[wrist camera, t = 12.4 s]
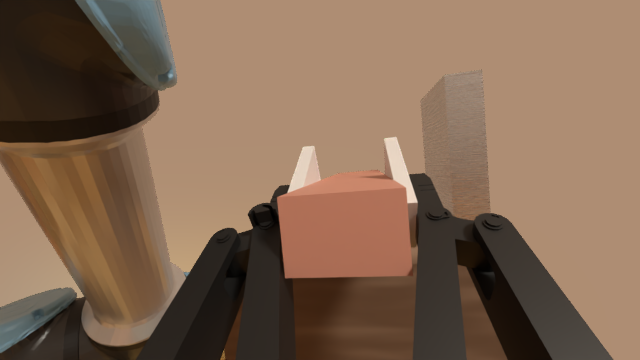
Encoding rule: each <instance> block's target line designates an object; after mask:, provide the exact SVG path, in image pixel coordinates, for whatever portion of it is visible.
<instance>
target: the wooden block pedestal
mask: <svg viewBox="0 0 640 360" xmlns="http://www.w3.org/2000/svg"><path fill="white" fill-rule="evenodd" d="M417 255H418V246H417V242H416V247H415V248H411V257H412V270H413V276H381V277H325V278H293V296H294V319H295V343H296V360H413V340H414V319H415V297H416V276H417ZM458 275H459V285H460V295H461V305H462V316H463V326H464V336H465V346H466V356H467V360H508V359H507V357H506V355H505V353H504V350H503V348H502V346H501V344H500V341H499V339H498V337H497V335H496V333H495V330H494V328H493V326H492V324H491V321H490V319H489V317H488V315H487V312H486V310H485V308H484V306H483V303H482V301H481V299H480V297H479V295H478V292H477V290H476V288H475V286H474V283H473V281H472V279H471V277H470V274H469V272H468V270H467V268H466V267H465V266H461V265H458ZM243 299H244V298H243ZM242 306H243V300H242V303H241V306H240V308H239V311H238V314H237V316H236V319H235V321H234V324H233V327H232V329H231V332H230V335H229V337H228V340H227V342H226V345H225V348H224V349H225V358H226V360H235V358H236V350H237V343H238V336H239V328H240V321H241V313H242Z"/></svg>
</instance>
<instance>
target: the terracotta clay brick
mask: <svg viewBox="0 0 640 360" xmlns="http://www.w3.org/2000/svg"><path fill="white" fill-rule="evenodd" d="M277 203H278V212H279V222H280V232H281V242H282V252H283V262H284V272H285V278H325V277H381V276H413V270H412V257H411V244H410V231H409V217H408V204H407V191H406V187H404V186H403V185H401V184H400V183H398V182H396V181H395V180H393V179H391V178H390V177H388V176H386V175H385V174H383V173H382V172H380V171H378V170H370V171H358V172H347V173H338V174H336V175H333V176H330V177H328V178H325V179H323V180H320V181H318V182H315V183H313V184H310V185H308V186H305V187H302V188H299V189H297V190H294V191H292V192H289V193H286V194H284V195H281V196H279V197H277Z"/></svg>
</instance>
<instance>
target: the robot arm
mask: <svg viewBox="0 0 640 360" xmlns="http://www.w3.org/2000/svg"><path fill="white" fill-rule="evenodd" d="M176 83H177V74H176V69H175V63H174V58H173V54H172V50H171V46H170V41H169V37H168V33H167V28H166V24H165V19H164V14H163V10H162V7H161V2H160V0H0V164H1V165H2V167H3V168H4V170H5V172H6V173H7V175H8V177H9V178H10V180H11V181H12V183H13V184H14V186H15V188H16V189H17V191H18V192H19V194H20V195H21V197H22V199H23V200H24V202H25V203H26V205H27V206H28V208H29V210H30V211H31V213H32V214H33V216H34V218H35V219H36V221H37V222H38V224H39V226H40V227H41V229H42V230H43V232H44V233H45V235H46V237H47V238H48V240H49V241H50V243H51V244H52V246H53V248H54V249H55V251H56V252H57V254H58V255H59V257H60V259H61V260H62V262H63V263H64V265H65V267H66V268H67V270H68V271H69V273H70V274H71V276H72V278H73V279H74V281H75V282H76V284H77V285H78V287H79V289H80V290H81V292H82V293H83V295H84V297H82V298H76V297H77V293H76V292H75V291H74V290H73V289H72V288H63V289H61V288H58V289H53V290H49V291H45V292H42V293H38V294H35V295H32V296H29V297H26V298H24V299H21V300H18V301H15V302H13V303H10V304H7V305H5V306H3V307H0V360H220V358H221V355H222V353H223V350H224V348H225V345H226V342H227V340H228V337H229V335H230V332H231V329H232V327H233V324H234V321H235V319H236V316H237V314H238V311H239V308H240V306H241V303H242V300H243V306H242V313H241V321H240V328H239V336H238V343H237V350H236V358H235V360H296V343H295V319H294V296H293V278H285V272H284V262H283V252H282V242H281V232H280V222H279V212H278V203H277V197H279V196H281V195H284V194H286V193H289V192H292V191H294V190H297V189H299V188H302V187H305V186H308V185H310V184H313V183H315V182H318V181H320V180H321V178H320V173H319V168H318V163H317V158H316V153H315V147H314V146H308V147H303V149H302V152H301V155H300V158H299V160H298V163H297V166H296V170H295V172H294V175H293V178H292V181H291V184H290V185H284V186H279V188H278V189H276V190H275V192H274V194H273V196H272V199H271V203H262V204H259V205H257V206H255V207H253V208H252V209H251V210H250V211H249V213H248V216H249V219H250V221H251V224H252V226H253V229H251V230H249V231H245V232H242V233H237V231H236V230H235V229H234V228H225V229H222V230H220V231H218V232H217V233H215V234H214V235H213V236H212V237H211V239H210V240H209V242H208V244H207V245H206V247H205V248H204V250H203V252H202V253H201V255H200V257H199V258H198V260H197V261H196V263H195V265H194V266H193V268H192V269H191V271H190V272H188V273H187V272H183V271H182V270H181V269H180V268H179V267H177V266H176V265H175V264H173V263H171V262H170V258H169V253H168V248H167V243H166V239H165V234H164V229H163V224H162V220H161V215H160V210H159V205H158V201H157V196H156V191H155V186H154V182H153V177H152V172H151V167H150V163H149V158H148V153H147V148H146V144H145V139H144V134H143V129H142V126H144V125H145V124H146V123H147V122H148V121H149V120H151V119H152V118H153V117H154V116H155V115H156V113H157V111H158V110H159V105H160V104H159V96H158V90H160V91H162V90H165V89H166V88H169V87H173V86H174V85H176ZM384 151H385V152H384V153H385V175H386V176H388V177H390V178H391V179H393V180H395V181H396V182H398V183H400V184H401V185H403V186H404V187H406V191H407V204H408V217H409V231H410V244H411V248H415V247H416V242H417V246H418V255H417V276H416V297H415V319H414V340H413V360H467V356H466V346H465V336H464V326H463V316H462V305H461V295H460V285H459V275H458V265H461V266H465V267H466V268H467V270H468V272H469V274H470V277H471V279H472V281H473V283H474V286H475V288H476V290H477V292H478V295H479V297H480V299H481V301H482V303H483V306H484V308H485V310H486V312H487V315H488V317H489V319H490V321H491V324H492V326H493V328H494V330H495V333H496V335H497V337H498V339H499V341H500V344H501V346H502V348H503V350H504V353H505V355H506V357H507V359H508V360H613V359H612V357H611V356H610V355H609V353H608V352H607V351H606V349H605V348H604V347H603V345H602V344H601V343H600V341H599V340H598V338H597V337H596V336H595V334H594V333H593V332H592V331H591V329H590V328H589V326H588V325H587V324H586V322H585V321H584V320H583V318H582V317H581V316H580V314H579V313H578V312H577V310H576V309H575V308H574V306H573V305H572V304H571V302H570V301H569V300H568V298H567V297H566V296H565V294H564V293H563V292H562V290H561V289H560V287H559V286H558V285H557V284H556V282H555V281H554V279H553V278H552V277H551V275H550V274H549V273H548V271H547V270H546V269H545V267H544V266H543V265H542V263H541V262H540V261H539V259H538V258H537V257H536V255H535V254H534V253H533V251H532V250H531V249H530V248H529V246H528V245H527V243H526V242H525V241H524V239H523V238H522V236H521V235H520V234H519V233H518V231H517V230H516V229H515V227H514V226H513V225H512V223H511V222H510V221H509V220H508V219H507V218H505V217H503V216H501V215H497V214H493V213H483V214H479V215H478V216H476V217H475V220H467V219H462V218H457V217H455V216H453V215H452V214H451V212H450V211H449V210H448V209H446V208H444V207H443V205H442V202H441V200H440V198H439V196H438V193H437V191H436V189H435V187H434V185H433V182H432V180H431V178H430V177H428V176H427V175H426V174H425V173H422V174H410V175H409V174H408V171H407V168H406V165H405V162H404V159H403V156H402V153H401V150H400V147H399V144H398V141H397V138H396V137H393V138H384ZM243 298H244V299H243Z"/></svg>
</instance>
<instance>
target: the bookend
mask: <svg viewBox="0 0 640 360" xmlns="http://www.w3.org/2000/svg"><path fill="white" fill-rule="evenodd" d="M482 76H483V75H482V70H478V71H470V72H463V73H456V74H449V75H444V76H443V77H442V78H441V79H440V80H439V81H438V82H437V84H436V85H435V86H434V87H433V88H432V89H431V90H430V91H429V92H428V93H427V94H426V95H425V97H424V98H423V99H422V100H421V114H422V129H423V143H424V156H425V157H424V158H425V171H426V175H427V176H428V177H430V178H431V180H432V182H433V185H434V187H435V189H436V191H437V193H438V196H439V198H440V200H441V202H442V205H443V207H444V208H446V209H448V210H449V211H450V212H451V214H452V215H453V216H455V217H457V218H462V219H467V220H475V217H476V216H478V215H479V214H483V213H490V199H489V198H490V197H489V180H488V162H487V144H486V129H485V128H486V127H485V111H484V93H483V77H482Z"/></svg>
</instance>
